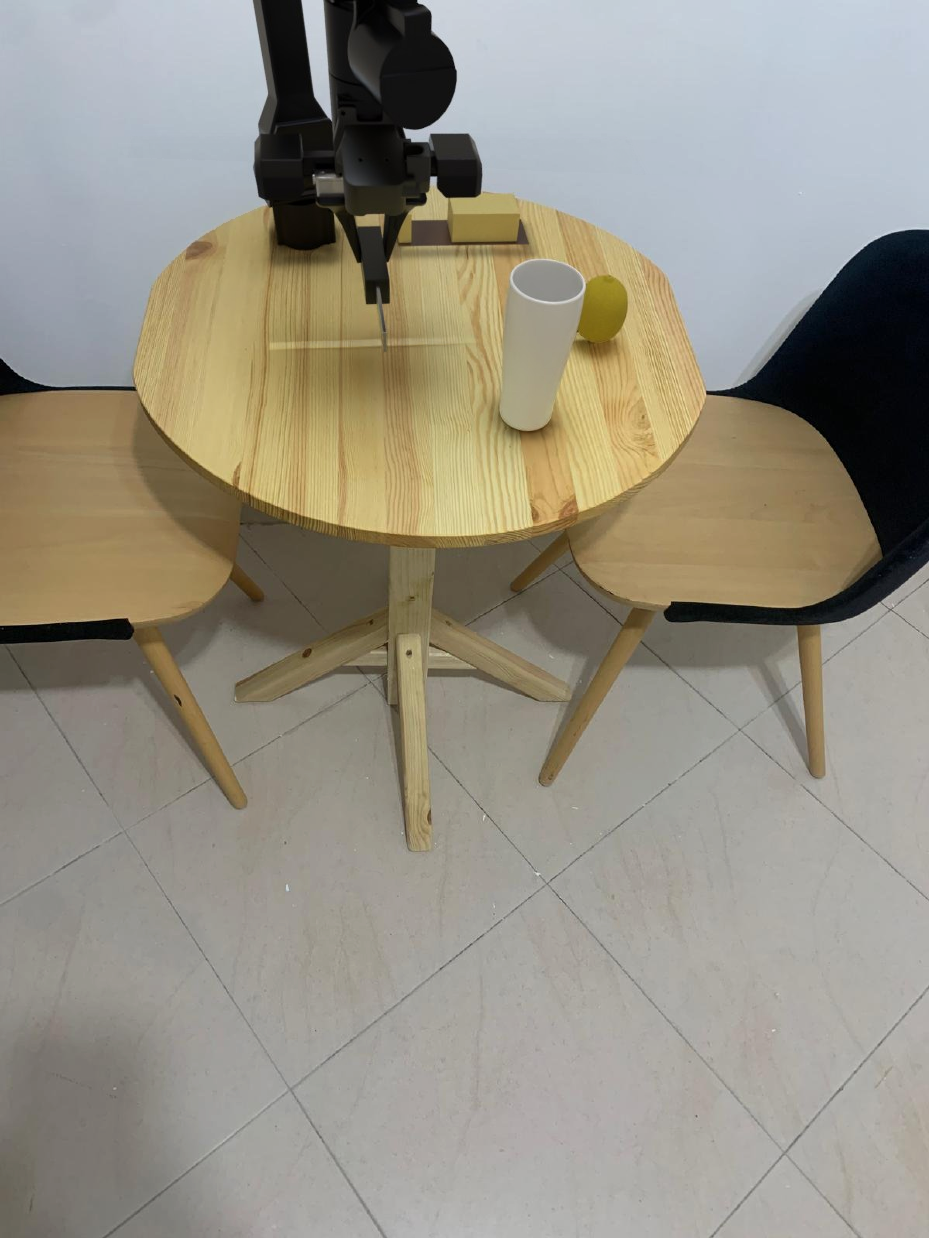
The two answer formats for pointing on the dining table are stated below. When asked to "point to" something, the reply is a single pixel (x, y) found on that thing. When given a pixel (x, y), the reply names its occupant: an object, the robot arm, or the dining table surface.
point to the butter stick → (484, 218)
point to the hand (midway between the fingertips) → (372, 260)
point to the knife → (375, 273)
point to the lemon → (603, 309)
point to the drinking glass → (537, 338)
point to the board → (448, 235)
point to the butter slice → (405, 230)
